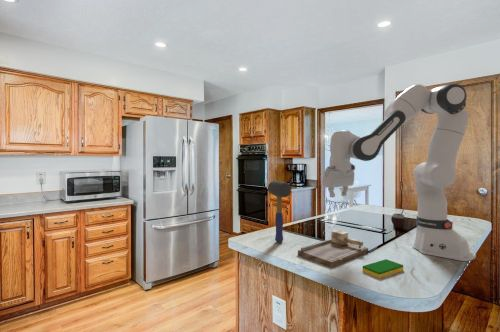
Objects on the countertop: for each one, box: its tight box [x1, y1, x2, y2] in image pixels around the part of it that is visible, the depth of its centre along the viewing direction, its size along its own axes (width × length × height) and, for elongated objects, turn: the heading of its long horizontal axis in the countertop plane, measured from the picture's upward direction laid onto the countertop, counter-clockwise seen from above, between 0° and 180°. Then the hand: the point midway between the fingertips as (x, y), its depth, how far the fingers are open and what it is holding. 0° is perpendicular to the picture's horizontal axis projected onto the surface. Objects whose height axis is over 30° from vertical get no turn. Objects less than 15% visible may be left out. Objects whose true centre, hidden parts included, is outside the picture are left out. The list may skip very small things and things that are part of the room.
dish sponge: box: [362, 259, 404, 279], centre depth 102 cm, size 7×14×2 cm, turn 119°
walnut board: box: [297, 238, 369, 268], centre depth 119 cm, size 18×26×3 cm
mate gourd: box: [390, 202, 410, 231], centre depth 162 cm, size 8×8×15 cm
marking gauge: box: [330, 229, 364, 248], centre depth 124 cm, size 14×4×5 cm, turn 38°
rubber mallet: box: [267, 180, 292, 244], centre depth 135 cm, size 12×8×30 cm, turn 22°
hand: (338, 196), depth 127 cm, fingers open, 8 cm apart
